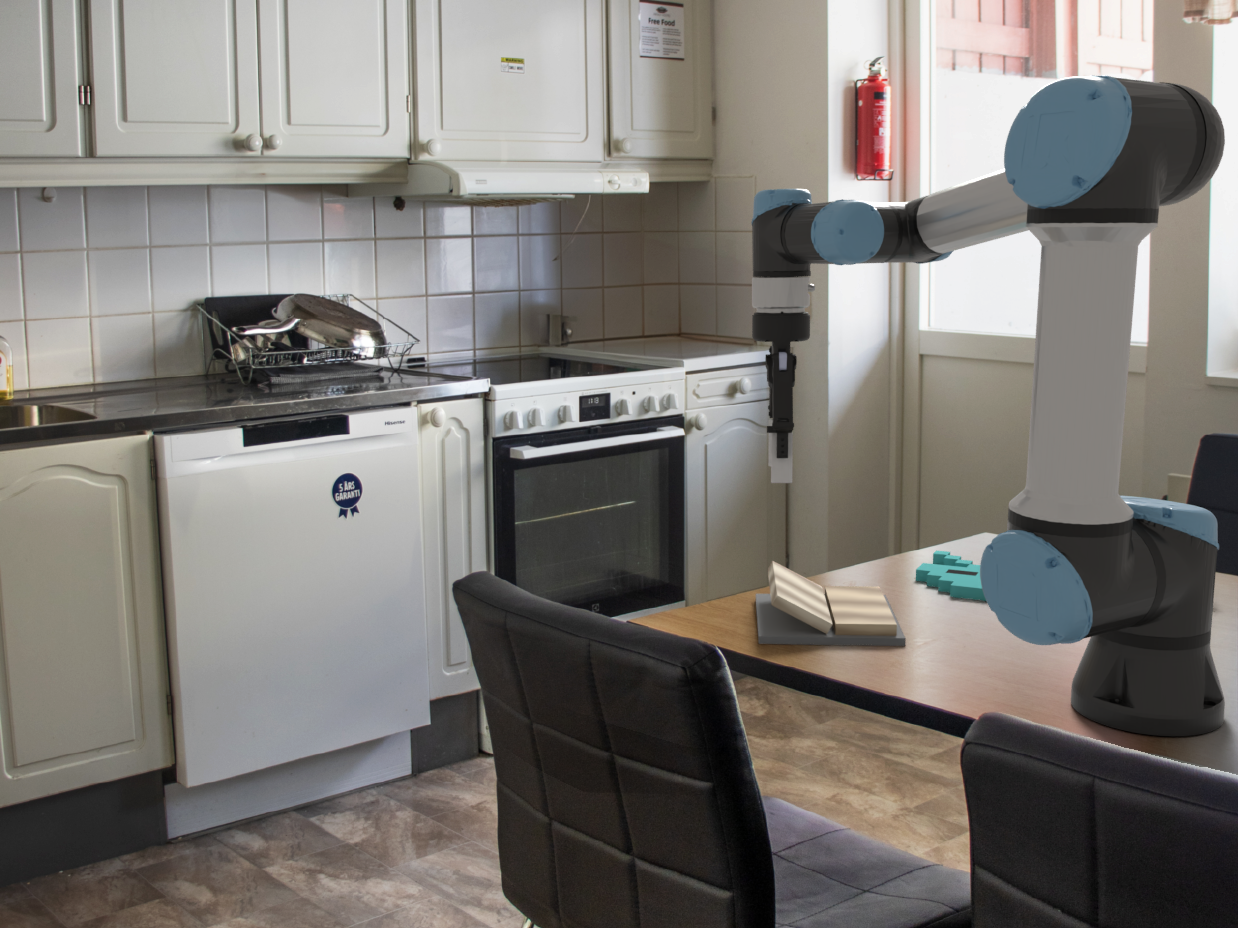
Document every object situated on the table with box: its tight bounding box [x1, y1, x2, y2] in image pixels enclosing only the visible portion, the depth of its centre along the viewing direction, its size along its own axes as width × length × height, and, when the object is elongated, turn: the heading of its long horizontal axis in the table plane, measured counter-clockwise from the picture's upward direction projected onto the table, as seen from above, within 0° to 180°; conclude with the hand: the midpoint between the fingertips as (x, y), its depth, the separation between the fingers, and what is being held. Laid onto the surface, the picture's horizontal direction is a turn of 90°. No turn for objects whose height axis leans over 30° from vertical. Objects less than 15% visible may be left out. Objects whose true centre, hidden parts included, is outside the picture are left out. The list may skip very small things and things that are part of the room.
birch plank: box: [767, 560, 833, 634], centre depth 162 cm, size 18×8×2 cm, turn 175°
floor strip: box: [824, 585, 897, 636], centre depth 162 cm, size 18×8×2 cm, turn 175°
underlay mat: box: [755, 593, 907, 647], centre depth 162 cm, size 20×18×1 cm
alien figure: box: [915, 550, 987, 602], centre depth 181 cm, size 20×2×20 cm
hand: (779, 474), depth 160 cm, fingers open, 12 cm apart
